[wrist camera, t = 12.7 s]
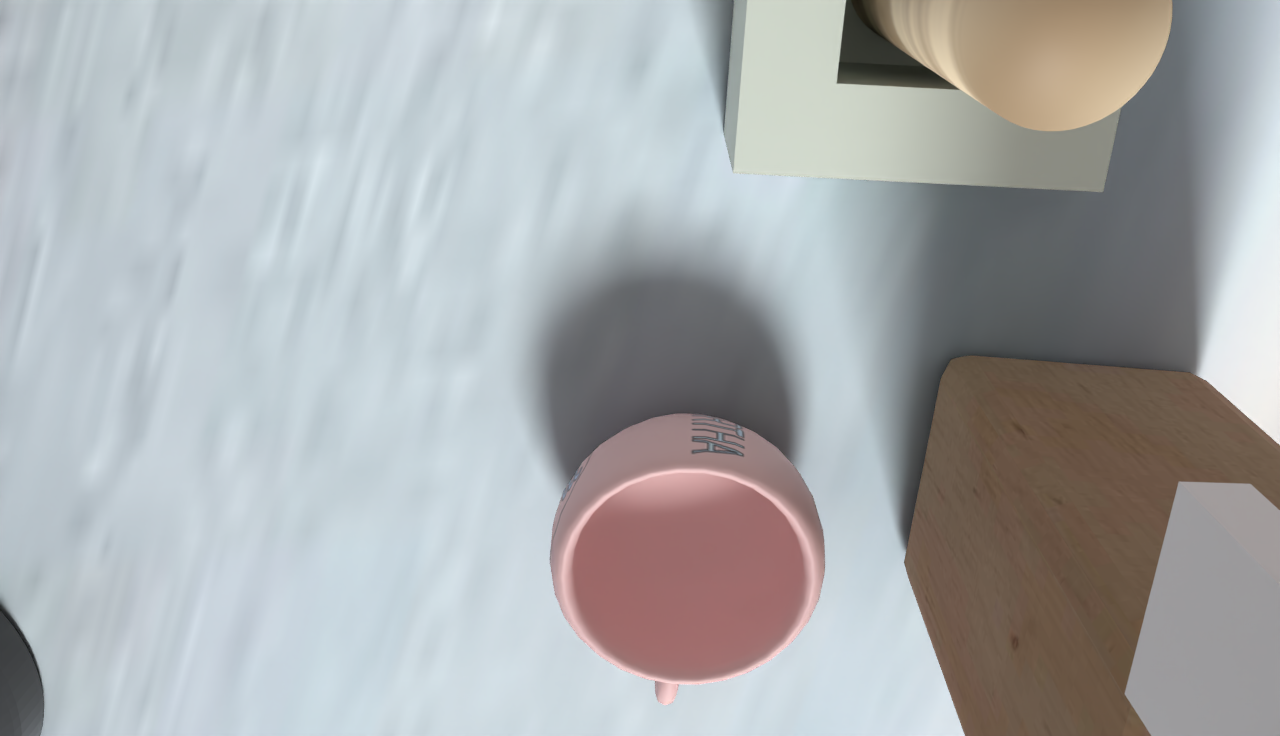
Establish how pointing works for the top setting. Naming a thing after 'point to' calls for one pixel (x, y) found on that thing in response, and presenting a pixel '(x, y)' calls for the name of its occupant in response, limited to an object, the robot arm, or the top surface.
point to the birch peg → (1032, 51)
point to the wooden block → (1059, 530)
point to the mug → (687, 551)
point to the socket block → (879, 111)
